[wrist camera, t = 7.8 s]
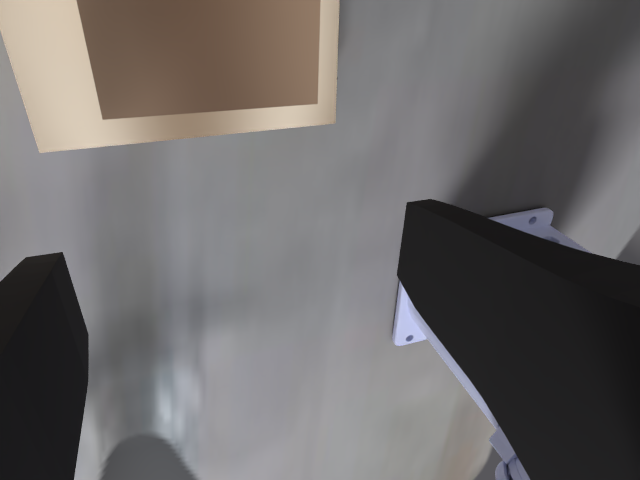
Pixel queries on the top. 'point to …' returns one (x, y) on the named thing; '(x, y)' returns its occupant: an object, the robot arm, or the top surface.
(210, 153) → the top surface
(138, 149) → the top surface
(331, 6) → the maple block
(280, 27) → the walnut cube
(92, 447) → the top surface
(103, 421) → the top surface
